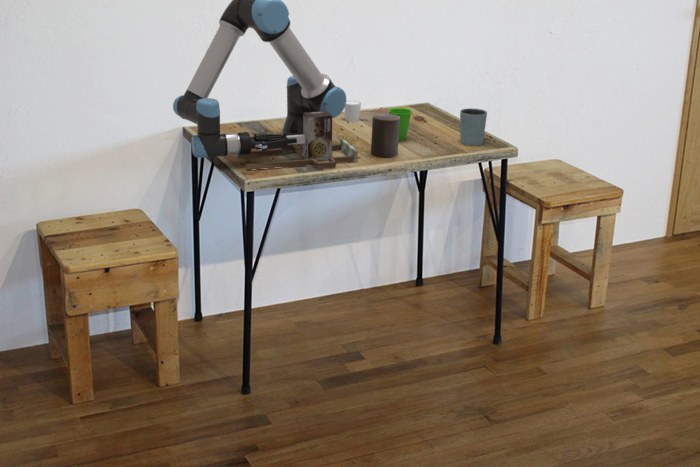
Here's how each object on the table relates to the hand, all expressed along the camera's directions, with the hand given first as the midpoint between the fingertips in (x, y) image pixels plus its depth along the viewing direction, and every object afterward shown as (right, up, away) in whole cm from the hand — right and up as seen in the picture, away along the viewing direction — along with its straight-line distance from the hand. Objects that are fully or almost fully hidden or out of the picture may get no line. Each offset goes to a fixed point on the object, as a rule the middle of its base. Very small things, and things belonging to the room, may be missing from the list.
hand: (304, 138), depth 316 cm
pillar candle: (+28, -4, +12) cm, 31 cm away
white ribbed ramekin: (+17, +13, +54) cm, 58 cm away
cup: (+34, +3, +29) cm, 45 cm away
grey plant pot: (+62, +1, +28) cm, 67 cm away
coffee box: (+4, -7, +5) cm, 9 cm away
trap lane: (-3, -7, +2) cm, 8 cm away
